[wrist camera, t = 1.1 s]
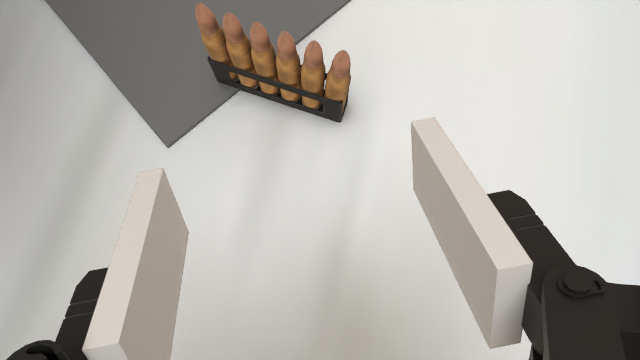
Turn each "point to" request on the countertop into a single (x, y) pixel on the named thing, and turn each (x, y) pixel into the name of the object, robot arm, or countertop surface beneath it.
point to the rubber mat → (176, 49)
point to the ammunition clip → (274, 66)
